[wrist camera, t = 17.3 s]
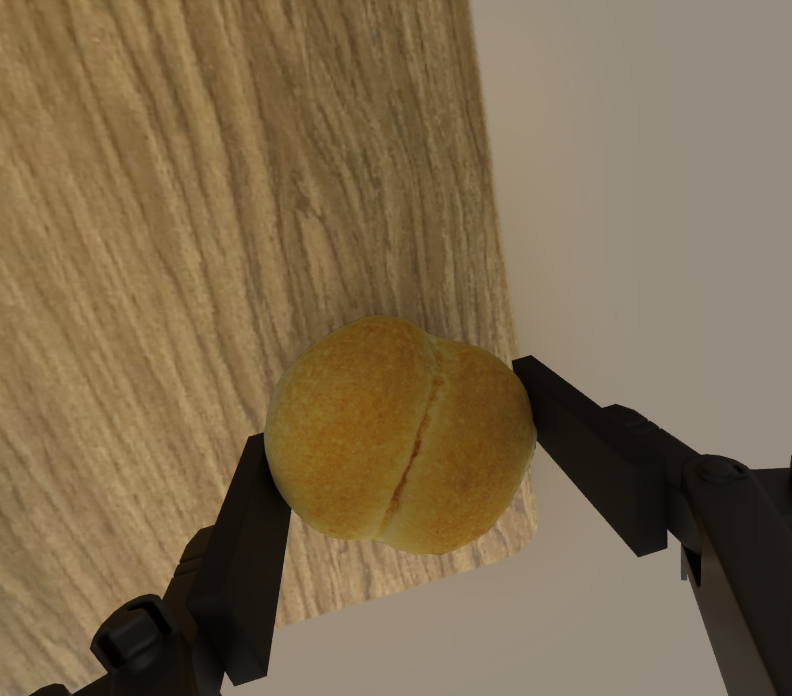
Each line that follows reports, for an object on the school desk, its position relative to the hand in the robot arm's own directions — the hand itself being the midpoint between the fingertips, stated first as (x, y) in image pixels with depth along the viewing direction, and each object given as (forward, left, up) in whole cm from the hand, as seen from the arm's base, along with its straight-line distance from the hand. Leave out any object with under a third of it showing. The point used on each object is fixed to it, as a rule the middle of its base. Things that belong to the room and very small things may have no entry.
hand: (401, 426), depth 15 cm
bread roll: (0, 0, 0) cm, 0 cm away
